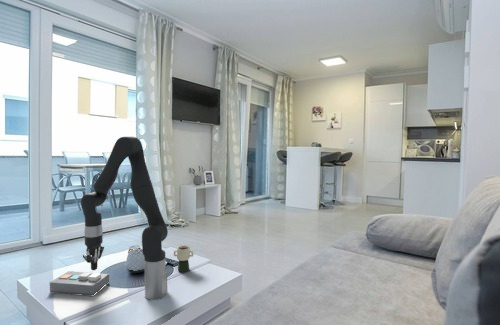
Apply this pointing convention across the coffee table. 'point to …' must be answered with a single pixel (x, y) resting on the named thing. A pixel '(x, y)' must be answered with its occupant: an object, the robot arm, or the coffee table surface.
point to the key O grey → (84, 276)
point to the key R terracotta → (66, 276)
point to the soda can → (134, 248)
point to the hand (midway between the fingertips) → (94, 269)
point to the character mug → (183, 257)
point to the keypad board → (78, 285)
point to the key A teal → (74, 277)
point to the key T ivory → (94, 277)
